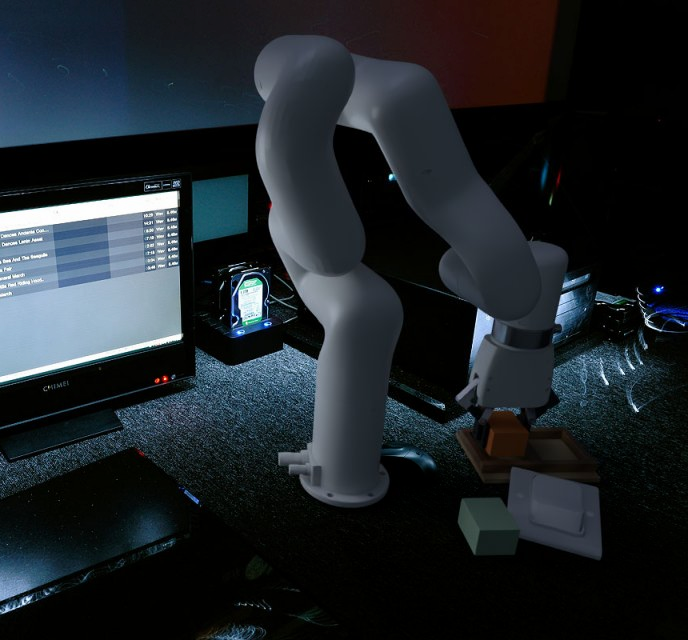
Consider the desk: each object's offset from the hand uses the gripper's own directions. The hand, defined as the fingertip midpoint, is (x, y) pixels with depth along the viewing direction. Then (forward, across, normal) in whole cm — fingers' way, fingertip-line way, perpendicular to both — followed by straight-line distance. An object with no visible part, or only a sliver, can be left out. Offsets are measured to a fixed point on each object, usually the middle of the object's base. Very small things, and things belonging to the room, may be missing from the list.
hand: (498, 441), depth 99 cm
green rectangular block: (+3, +8, +17) cm, 19 cm away
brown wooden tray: (+3, -4, 0) cm, 5 cm away
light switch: (+3, -2, +13) cm, 13 cm away
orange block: (0, 0, 0) cm, 0 cm away
